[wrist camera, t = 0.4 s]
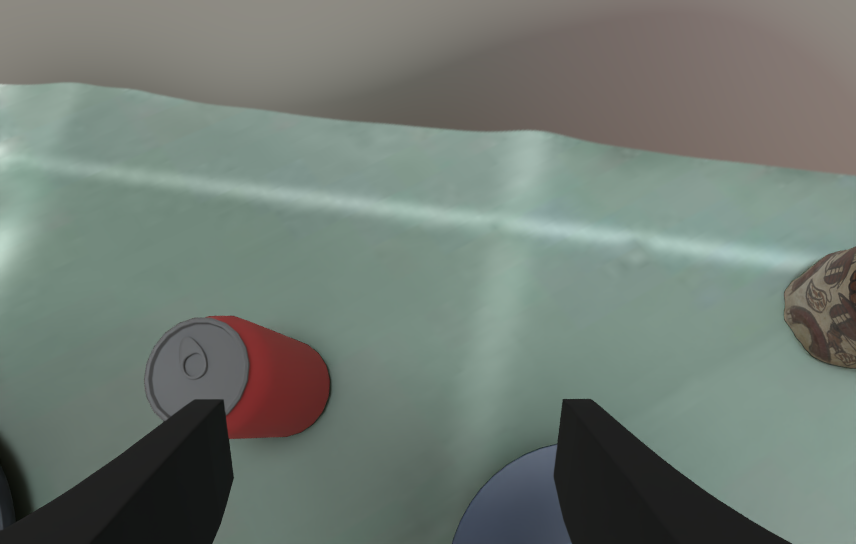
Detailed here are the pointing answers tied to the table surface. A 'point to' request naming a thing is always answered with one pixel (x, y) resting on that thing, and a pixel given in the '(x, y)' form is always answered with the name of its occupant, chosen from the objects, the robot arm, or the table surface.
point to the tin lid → (517, 505)
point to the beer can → (238, 376)
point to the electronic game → (5, 503)
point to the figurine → (826, 308)
